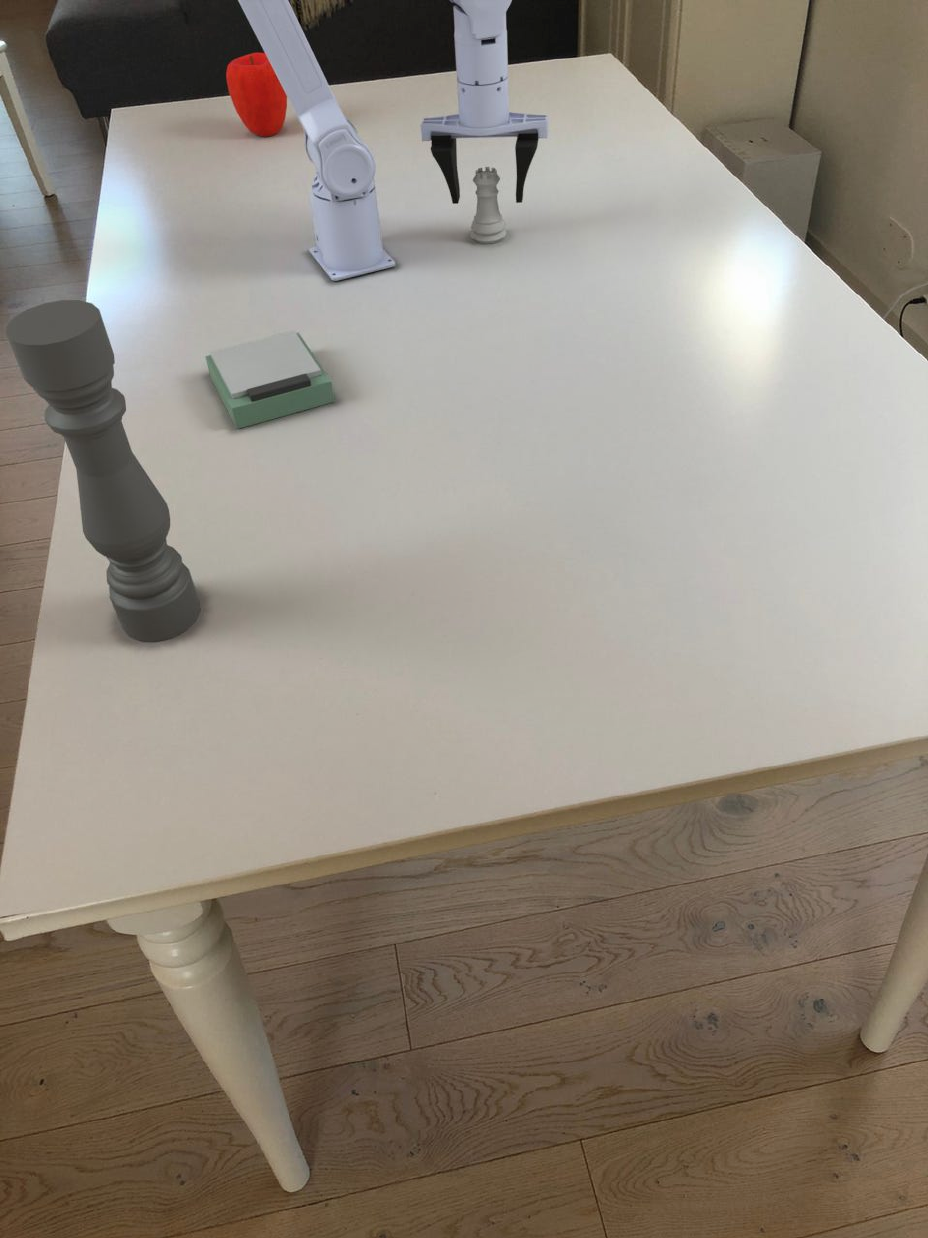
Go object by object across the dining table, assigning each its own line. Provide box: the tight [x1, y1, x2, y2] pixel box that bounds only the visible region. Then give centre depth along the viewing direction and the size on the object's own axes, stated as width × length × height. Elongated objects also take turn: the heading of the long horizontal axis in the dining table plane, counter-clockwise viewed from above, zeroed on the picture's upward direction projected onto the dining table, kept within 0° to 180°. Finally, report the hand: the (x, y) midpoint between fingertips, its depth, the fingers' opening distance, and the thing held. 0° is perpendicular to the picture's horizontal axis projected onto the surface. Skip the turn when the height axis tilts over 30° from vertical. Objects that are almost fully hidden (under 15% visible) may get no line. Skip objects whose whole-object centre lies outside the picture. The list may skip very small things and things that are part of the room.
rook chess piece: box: [470, 166, 507, 245], centre depth 122 cm, size 4×4×8 cm
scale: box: [204, 329, 335, 430], centre depth 101 cm, size 11×10×3 cm
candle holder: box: [5, 299, 201, 643], centre depth 71 cm, size 6×6×25 cm
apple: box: [225, 52, 288, 138], centre depth 153 cm, size 9×9×11 cm
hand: (487, 199), depth 122 cm, fingers open, 7 cm apart
